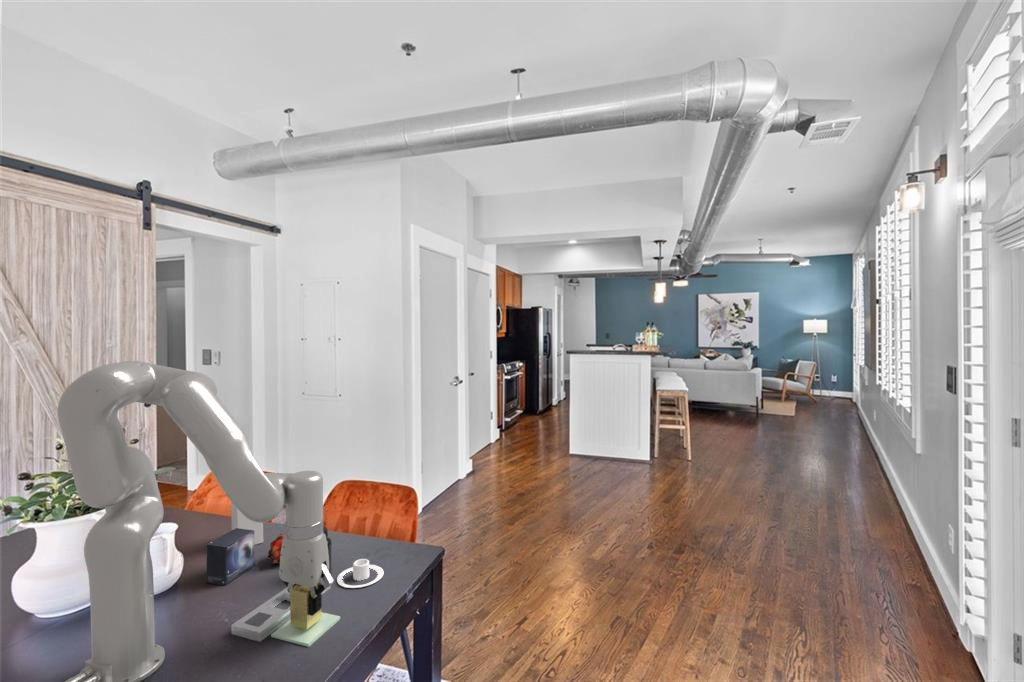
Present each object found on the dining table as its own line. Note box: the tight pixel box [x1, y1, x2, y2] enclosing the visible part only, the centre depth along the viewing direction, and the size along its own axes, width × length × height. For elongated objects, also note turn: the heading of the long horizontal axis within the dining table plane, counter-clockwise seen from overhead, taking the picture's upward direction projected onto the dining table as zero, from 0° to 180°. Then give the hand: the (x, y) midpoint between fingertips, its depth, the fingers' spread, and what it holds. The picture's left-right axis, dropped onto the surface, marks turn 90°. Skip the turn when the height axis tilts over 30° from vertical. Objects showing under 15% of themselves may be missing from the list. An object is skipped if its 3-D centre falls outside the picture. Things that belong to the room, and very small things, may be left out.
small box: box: [206, 528, 255, 586], centre depth 128 cm, size 11×6×10 cm, turn 169°
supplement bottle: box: [323, 526, 333, 574], centre depth 129 cm, size 7×7×12 cm
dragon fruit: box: [267, 533, 286, 565], centre depth 136 cm, size 8×8×12 cm
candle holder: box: [336, 558, 385, 589], centre depth 127 cm, size 12×12×4 cm
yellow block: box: [289, 584, 323, 629], centre depth 106 cm, size 4×4×8 cm
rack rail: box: [230, 579, 332, 642], centre depth 113 cm, size 22×8×2 cm, turn 161°
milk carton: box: [230, 500, 264, 546], centre depth 147 cm, size 7×7×19 cm
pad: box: [270, 611, 341, 648], centre depth 106 cm, size 10×10×1 cm
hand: (306, 609), depth 106 cm, fingers closed on yellow block, 4 cm apart
